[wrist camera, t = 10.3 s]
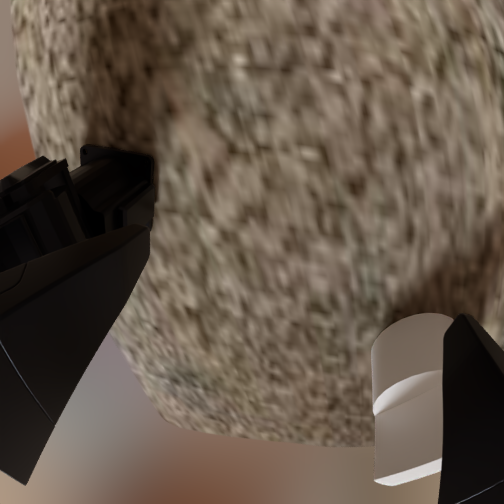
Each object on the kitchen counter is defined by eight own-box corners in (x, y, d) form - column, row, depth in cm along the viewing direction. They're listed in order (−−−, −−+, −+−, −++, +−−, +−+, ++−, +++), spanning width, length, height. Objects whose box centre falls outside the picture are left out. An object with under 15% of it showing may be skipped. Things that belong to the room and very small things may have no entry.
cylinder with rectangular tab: (403, 386, 29) (407, 491, 19) (351, 349, 27) (346, 473, 18) (475, 344, 24) (502, 455, 15) (433, 295, 23) (466, 430, 13)
